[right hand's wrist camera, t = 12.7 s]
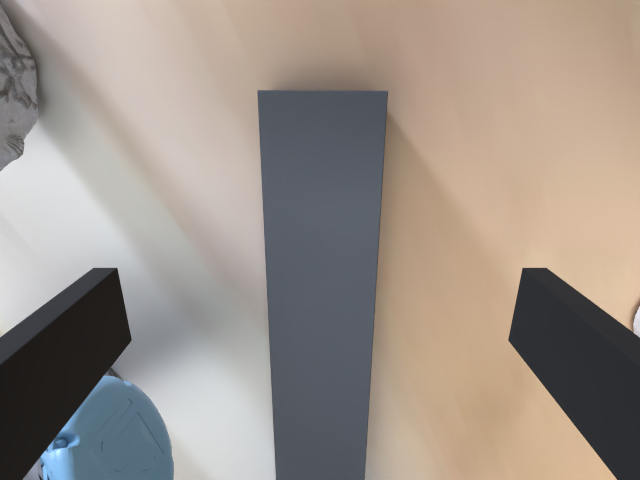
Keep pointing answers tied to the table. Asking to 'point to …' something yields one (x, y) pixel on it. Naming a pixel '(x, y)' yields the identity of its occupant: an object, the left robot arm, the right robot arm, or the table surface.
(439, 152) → the table surface
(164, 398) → the table surface
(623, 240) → the table surface
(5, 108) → the fossil
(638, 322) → the mechanical component
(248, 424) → the table surface
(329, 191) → the thick board
